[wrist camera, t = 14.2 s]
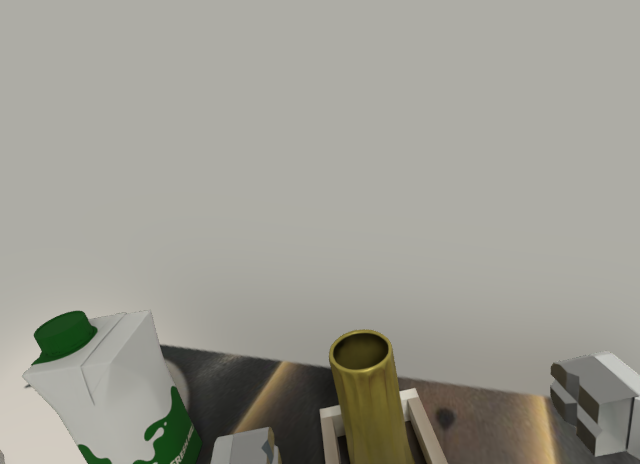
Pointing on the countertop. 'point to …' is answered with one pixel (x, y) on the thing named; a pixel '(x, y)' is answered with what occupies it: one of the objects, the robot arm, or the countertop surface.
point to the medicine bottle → (1, 458)
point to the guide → (411, 411)
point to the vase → (369, 398)
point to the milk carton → (113, 389)
